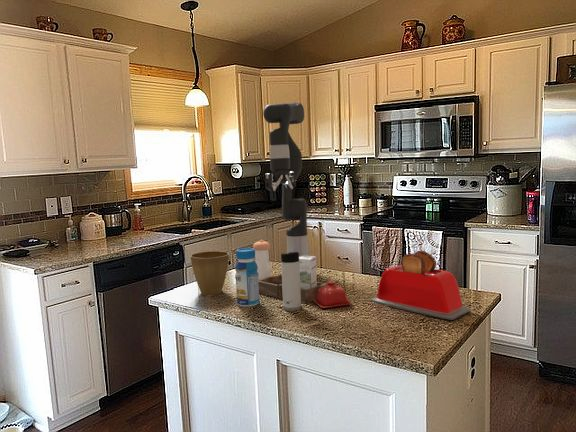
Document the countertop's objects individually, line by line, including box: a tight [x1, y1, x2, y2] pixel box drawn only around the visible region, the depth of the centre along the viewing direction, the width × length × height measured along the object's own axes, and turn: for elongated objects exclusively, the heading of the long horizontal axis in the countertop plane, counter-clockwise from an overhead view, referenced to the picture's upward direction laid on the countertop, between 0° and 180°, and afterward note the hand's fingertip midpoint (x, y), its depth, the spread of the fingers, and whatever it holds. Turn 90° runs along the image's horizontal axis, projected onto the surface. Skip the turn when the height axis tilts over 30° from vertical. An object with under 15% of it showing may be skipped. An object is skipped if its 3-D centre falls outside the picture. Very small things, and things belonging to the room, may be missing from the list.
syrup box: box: [299, 255, 318, 289], centre depth 178 cm, size 6×6×14 cm
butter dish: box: [312, 280, 352, 309], centre depth 170 cm, size 12×12×8 cm
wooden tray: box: [258, 273, 328, 305], centre depth 185 cm, size 15×26×5 cm, turn 45°
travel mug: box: [280, 252, 302, 312], centre depth 166 cm, size 6×7×20 cm
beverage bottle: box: [234, 247, 260, 308], centre depth 173 cm, size 8×8×20 cm
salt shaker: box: [252, 239, 272, 280], centre depth 199 cm, size 7×7×19 cm
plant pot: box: [189, 250, 230, 297], centre depth 189 cm, size 15×15×16 cm
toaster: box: [369, 250, 472, 321], centre depth 163 cm, size 32×13×19 cm, turn 43°
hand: (281, 199), depth 185 cm, fingers open, 8 cm apart
